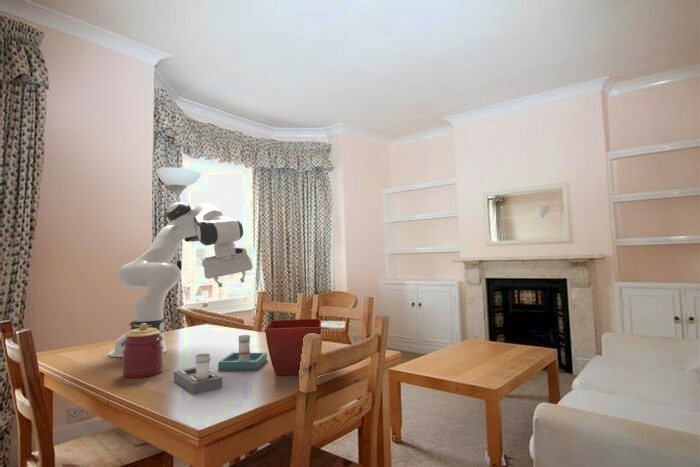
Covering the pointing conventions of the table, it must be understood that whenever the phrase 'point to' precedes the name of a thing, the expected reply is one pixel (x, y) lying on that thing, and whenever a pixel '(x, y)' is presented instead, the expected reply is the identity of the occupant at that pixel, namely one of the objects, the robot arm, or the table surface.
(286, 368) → the plant pot
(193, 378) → the fuse block
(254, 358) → the tray
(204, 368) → the fuse
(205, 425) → the table surface
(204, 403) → the table surface
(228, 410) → the table surface
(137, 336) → the canister
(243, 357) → the grey capped cylinder
